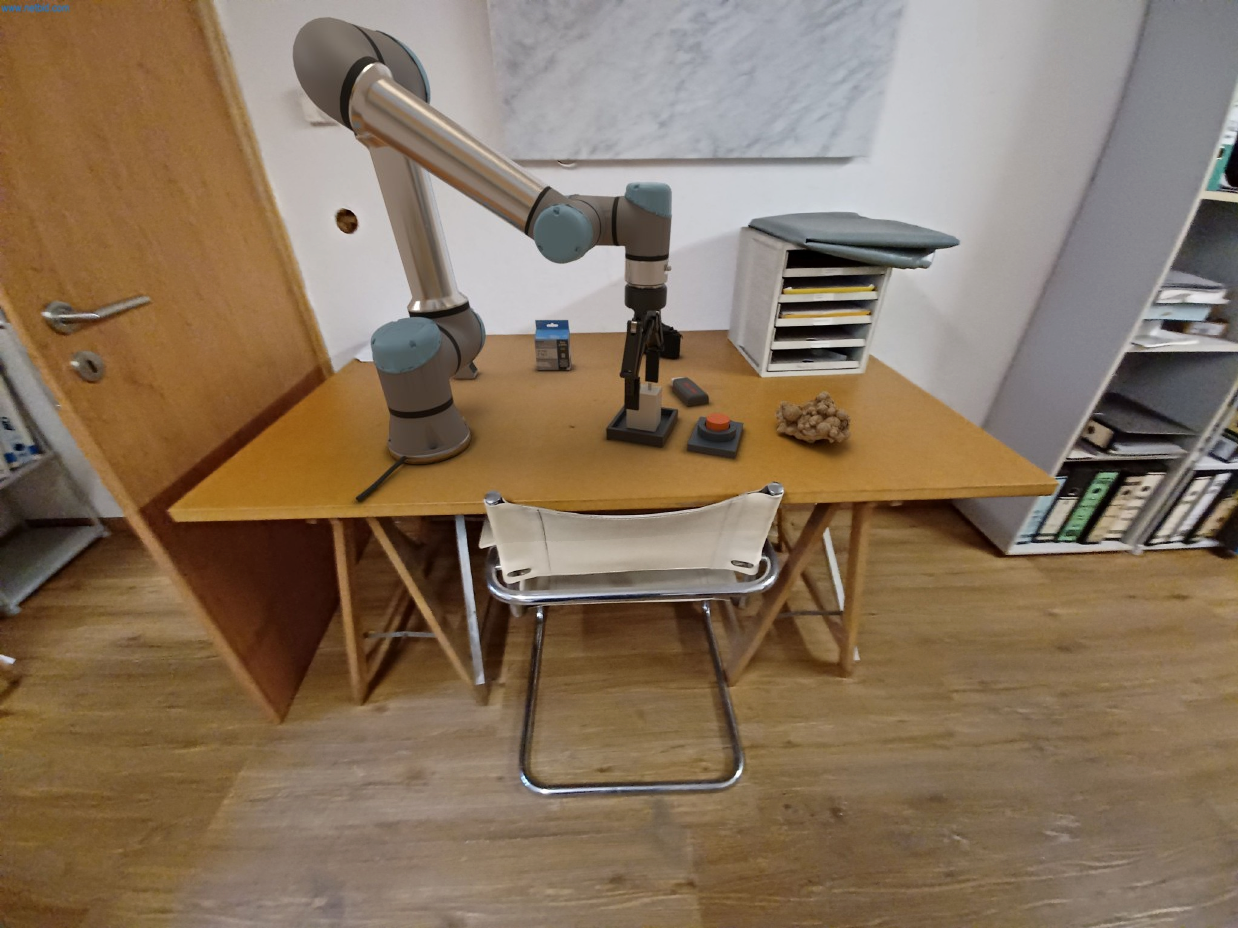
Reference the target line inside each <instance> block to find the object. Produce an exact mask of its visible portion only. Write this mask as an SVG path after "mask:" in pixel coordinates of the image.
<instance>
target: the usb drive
mask: <svg viewBox="0 0 1238 928" xmlns="http://www.w3.org/2000/svg"><path fill="white" fill-rule="evenodd" d="M670 387H671V392H672V393H673V395H674V396H676V397H677V399H678V400H680V401H681V403H683V404H684V406H686V407H687V408H691V407H697V406H704V405H709V403H710V396H709V394H708V393H707V392H705V391H704V390H703V389H702V388H701V387H700V386H699V385H698V384H697V383H696V382H695V381H693V380H691V378H689V377H687V376H685V377H684V376H679V377H672V378H670Z"/></svg>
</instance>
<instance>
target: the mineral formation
mask: <svg viewBox="0 0 1238 928" xmlns="http://www.w3.org/2000/svg"><path fill="white" fill-rule="evenodd" d="M779 403H780V404H779V407H778V408H776V409H775V413H774V415H773V416H774V417H775V418H776V420H778V422H779V426H778V428H776V431H777V433H781V434H785V435H788V436H794V437H795V438H796V439H798V440H803V441H804V442H806V443H807V444H808V443H809V444H814V443H815V442H816V441H818V440H822V439H823V440H828V441H829V443H830V444H832V443H834V442H835V441H836V442H838V443H841V442H842V441H847V440H849V439H850V438H851V431H850V429H849V428H850V427H851V424H850V423H851V420H852V418H851V417H850V415H849V413H847V412H846V410H845V409H844V408H837V406H836V404H835V400H834V398H832V396H831V394H830V393H829V392H828V391H824V390H822V391H821V392H819V393H818V394H817V396H815V398H814V399H810V400H808V401H804V402H803V403H802V404H801V405H800V404H797V405H796V404H795V403H792V402H790V403H789V402H788V401H786V400H781V401H780V402H779Z"/></svg>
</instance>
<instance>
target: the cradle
mask: <svg viewBox="0 0 1238 928" xmlns="http://www.w3.org/2000/svg"><path fill="white" fill-rule="evenodd" d="M678 420H679V409H678V408H671V407H665V406H661V422H660V424H659V426H658V427H657V429H656V431H655V432H652V431H646V430H639V429H633V428H627V409H624V405H623V406H622V407H621V408H620V410H619V411H618V412H617V413H616V415H615V416H614V417H613V419H611V422H610V423H609V424H608V425H607V427H606V428H605V434H606V435H605V436H606V440H612V441H616V442H624V443H631V444H636V445H642V446H649V447H653V448H660V449H663V448H664V446H665V444H666V442H667V441H668V439H669V438H670V435H671V433H672V431H673V429H674V427H675V426H676V424H677V421H678Z"/></svg>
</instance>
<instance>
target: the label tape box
mask: <svg viewBox="0 0 1238 928" xmlns="http://www.w3.org/2000/svg"><path fill="white" fill-rule="evenodd" d="M534 322H535V330H534V331H535V333H534V351H535V360H536V361H535V362H536V370H537V371H571V369H572V349H571V348H572V347H571V330H570V323H569V319H535V320H534ZM551 324H553V325H556V326H548V325H551Z"/></svg>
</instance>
